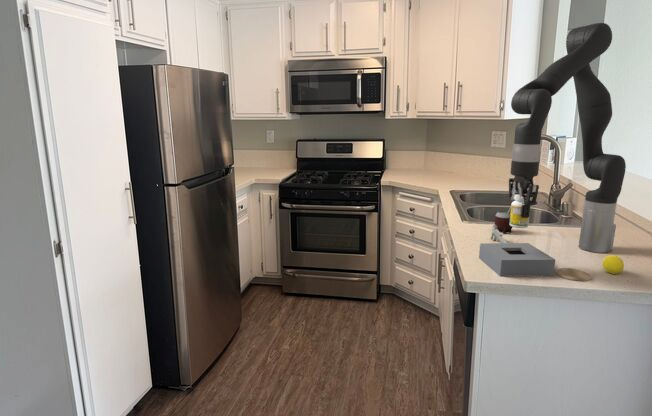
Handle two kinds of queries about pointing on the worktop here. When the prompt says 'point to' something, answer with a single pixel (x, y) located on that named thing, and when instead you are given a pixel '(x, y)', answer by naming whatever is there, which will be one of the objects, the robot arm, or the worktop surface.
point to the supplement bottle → (518, 214)
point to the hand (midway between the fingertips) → (519, 214)
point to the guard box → (516, 259)
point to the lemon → (613, 264)
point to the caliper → (497, 235)
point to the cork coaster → (573, 274)
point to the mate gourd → (503, 221)
